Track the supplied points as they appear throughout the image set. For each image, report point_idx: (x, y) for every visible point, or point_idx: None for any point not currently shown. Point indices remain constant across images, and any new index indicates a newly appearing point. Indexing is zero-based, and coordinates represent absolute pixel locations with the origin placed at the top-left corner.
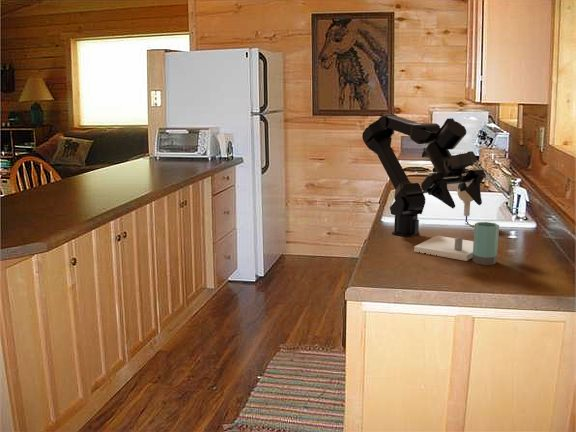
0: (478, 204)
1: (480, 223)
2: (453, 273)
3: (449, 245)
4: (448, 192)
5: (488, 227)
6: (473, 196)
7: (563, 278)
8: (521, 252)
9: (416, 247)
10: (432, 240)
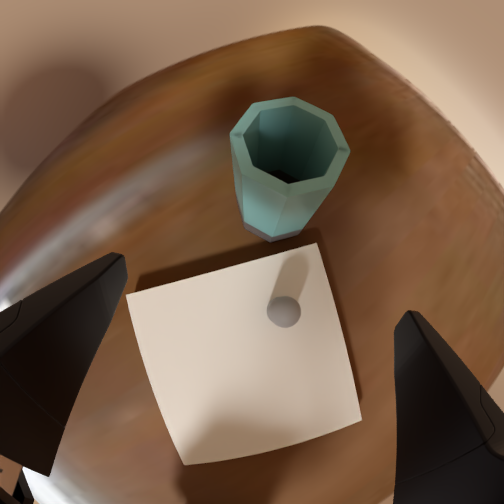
0: (123, 284)
1: (283, 183)
2: (419, 201)
3: (257, 367)
4: (478, 407)
5: (328, 113)
6: (78, 360)
7: (239, 49)
8: (100, 200)
9: (359, 413)
10: (250, 441)
